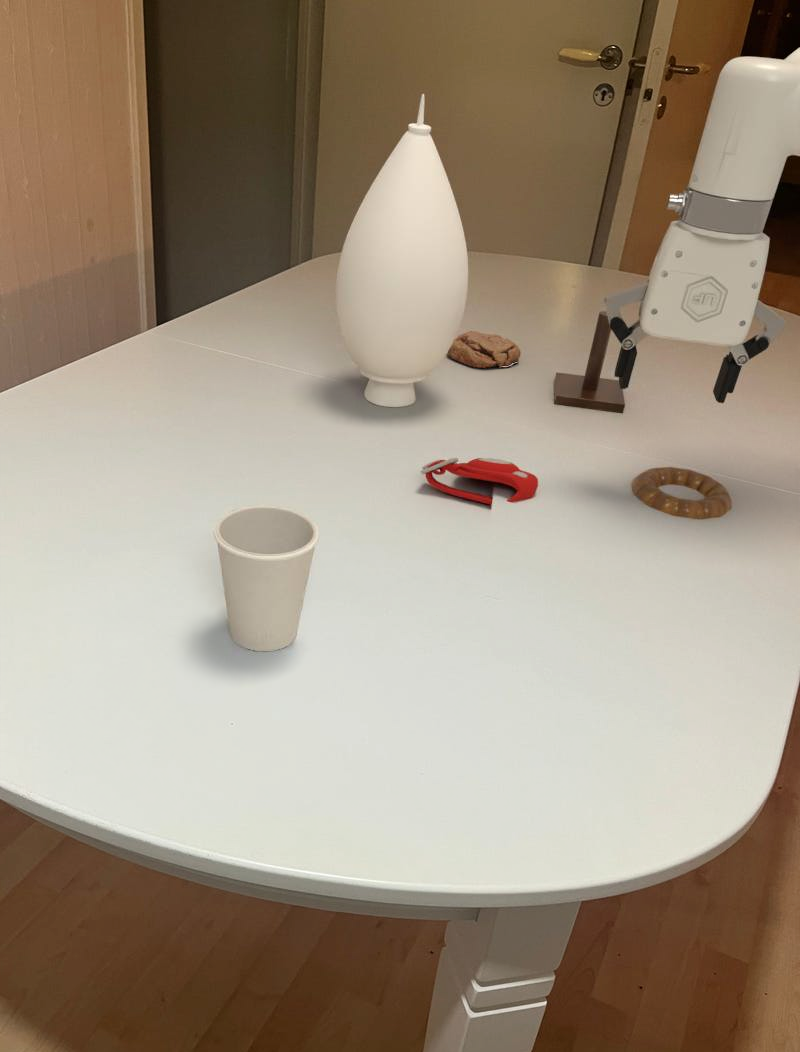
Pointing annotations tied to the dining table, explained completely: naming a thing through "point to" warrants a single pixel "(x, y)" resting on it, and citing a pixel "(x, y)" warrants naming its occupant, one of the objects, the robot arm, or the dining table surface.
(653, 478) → the ring
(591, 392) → the peg
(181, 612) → the dining table surface
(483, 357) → the cookie
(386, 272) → the lamp
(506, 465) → the tracker holder
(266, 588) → the dixie cup
